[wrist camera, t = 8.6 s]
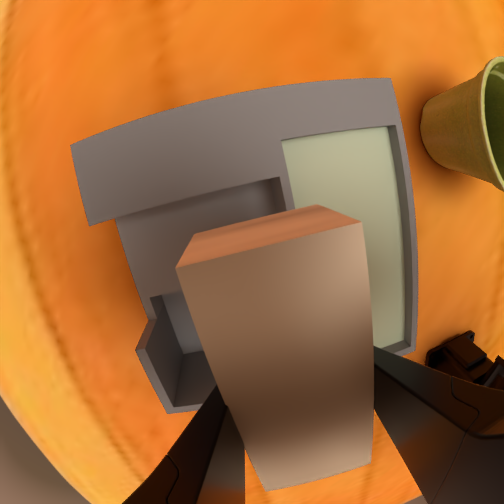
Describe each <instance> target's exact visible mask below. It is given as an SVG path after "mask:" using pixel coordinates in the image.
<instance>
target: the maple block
mask: <svg viewBox="0 0 504 504" xmlns="http://www.w3.org/2000/svg"><path fill="white" fill-rule="evenodd" d="M175 269H176V272H177V275H178V278H179V281H180V285H181V288H182V291H183V294H184V297H185V299H186V302H187V305H188V308H189V311H190V314H191V317H192V320H193V322H194V325H195V328H196V331H197V334H198V336H199V339H200V342H201V344H202V347H203V350H204V352H205V355H206V358H207V360H208V363H209V365H210V368H211V371H212V373H213V376H214V378H215V381H216V383H217V386H218V388H219V390H220V393H221V395H222V398H223V400H224V402H225V405H227V406H228V407H229V410H230V412H231V414H232V417H233V419H234V421H235V424H236V426H237V428H238V431H239V433H240V435H241V438H242V440H243V442H244V448H245V450H246V452H247V454H248V456H249V458H250V461H251V463H252V465H253V467H254V469H255V471H256V473H257V475H258V477H259V479H260V481H261V483H262V485H263V487H264V489H265V491H271V490H276V489H282V488H286V487H291V486H296V485H300V484H304V483H308V482H312V481H316V480H320V479H323V478H327V477H330V476H334V475H337V474H340V473H343V472H347V471H350V470H353V469H356V468H359V467H361V466H364V465H367V464H370V463H371V454H372V439H373V418H374V348H373V325H372V309H371V296H370V285H369V274H368V265H367V256H366V248H365V240H364V233H363V226H362V222H361V221H358V220H356V219H354V218H351V217H349V216H346V215H344V214H341V213H339V212H336V211H334V210H331V209H329V208H326V207H324V206H321V205H318V204H315V205H311V206H307V207H302V208H298V209H294V210H289V211H285V212H281V213H277V214H272V215H268V216H264V217H260V218H256V219H252V220H248V221H244V222H240V223H235V224H231V225H227V226H224V227H220V228H216V229H212V230H208V231H204V232H200V233H196V234H194V235H193V237H192V239H191V241H190V242H189V244H188V246H187V248H186V249H185V251H184V253H183V255H182V257H181V258H180V260H179V262H178V264H177V266H176V267H175Z"/></svg>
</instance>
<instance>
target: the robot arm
mask: <svg viewBox="0 0 504 504" xmlns="http://www.w3.org/2000/svg"><path fill="white" fill-rule="evenodd" d="M474 336H475V333H474V332H473V331H469V332H467V333H465V334H463V335H461V336H459V337H457V338H455V339H453V340H451V341H449V342H447V343H445V344H443V345H441V346H439V347H437V348H434V349H432V350H430V351H429V352H428V354H427V358H426V366H424V365H422V364H419V363H416V362H414V361H411V360H409V359H406V358H404V357H401V356H399V355H396V354H394V353H391V352H389V351H386V350H384V349H381V348H379V347H376V346H374V345H373V348H374V409H375V411H376V413H377V415H378V417H379V418H380V420H381V422H382V424H383V425H384V427H385V429H386V430H387V432H388V434H389V436H390V437H391V439H392V441H393V443H394V444H395V446H396V448H397V450H398V451H399V453H400V455H401V457H402V458H403V460H404V462H405V464H406V465H407V467H408V469H409V471H410V473H411V474H412V476H413V478H414V480H415V482H416V483H417V485H418V487H419V489H420V491H421V492H422V494H423V496H424V498H425V500H426V501H427V503H428V504H504V359H502V358H501V357H500V356H499V355H498V356H497V358H496V359H495V362H494V363H493V362H492V361H491V360H490V359H488V358H487V354H486V353H485V352H484V351H482V350H481V349H480V348H479V347H478V346H476V345H475V344H474V343H473V341H474ZM167 454H168V455H165V457H164V458H163V459H162V461H161V462H160V463H159V465H158V466H157V467H156V468H155V470H154V471H153V472H152V473H151V474H150V476H149V477H148V478H147V479H146V480H145V481H144V482H143V483H142V484H141V485H140V486H139V487H138V488H137V489H136V490H135V491H134V492H133V493H132V494H131V495H130V496H129V497H128V498H127V499H126V500H125V501H124V502H123V503H122V504H245V448H244V442H243V440H242V438H241V435H240V433H239V431H238V428H237V426H236V424H235V421H234V419H233V417H232V414H231V412H230V410H229V407H228V406H227V405H225V402H224V400H223V398H222V395H221V393H220V390H219V388H218V386H217V384H216V386H215V387H214V388H213V390H212V391H211V393H210V394H209V396H208V397H207V399H206V400H205V401H204V403H203V404H202V406H201V407H200V409H199V410H198V411H197V413H196V414H195V416H194V417H193V418H192V420H191V421H190V423H189V424H188V425H187V427H186V428H185V430H184V431H183V432H182V434H181V435H180V436H179V438H178V439H177V441H176V442H175V443H174V445H173V446H172V447H171V449H170V450H169V451H168V453H167Z"/></svg>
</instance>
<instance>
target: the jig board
mask: <svg viewBox="0 0 504 504" xmlns="http://www.w3.org/2000/svg"><path fill="white" fill-rule="evenodd" d="M70 146H71V152H72V157H73V162H74V167H75V171H76V176H77V180H78V185H79V189H80V193H81V197H82V201H83V205H84V209H85V213H86V216H87V220H88V223H89V226H92V225H95V224H98V223H101V222H104V221H108V220H111V219H114V218H115V221H116V225H117V228H118V232H119V235H120V239H121V242H122V245H123V249H124V252H125V255H126V258H127V261H128V264H129V267H130V270H131V273H132V276H133V279H134V282H135V285H136V288H137V291H138V293H139V296H140V299H141V302H142V304H143V307H144V310H145V312H146V315H147V317H148V320H149V321H148V323H147V325H146V327H145V329H144V331H143V334H142V336H141V338H140V340H139V342H138V345H137V347H136V349H135V351H136V353H137V355H138V357H139V360H140V362H141V364H142V366H143V368H144V370H145V372H146V374H147V376H148V378H149V380H150V382H151V384H152V386H153V388H154V390H155V392H156V394H157V396H158V397H159V399H160V401H161V403H162V405H163V407H164V409H165V410H166V412H167V414H172V413H180V412H188V411H196V410H199V409H200V407H201V406H202V404H203V403H204V401H205V400H206V399H207V397H208V396H209V394H210V393H211V391H212V390H213V388H214V387H215V386H216V384H217V383H216V381H215V378H214V376H213V373H212V371H211V368H210V365H209V363H208V360H207V358H206V355H205V352H204V350H203V347H202V344H201V342H200V339H199V336H198V334H197V331H196V328H195V325H194V322H193V320H192V317H191V314H190V311H189V308H188V305H187V302H186V299H185V297H184V294H183V291H182V288H181V285H180V281H179V278H178V275H177V272H176V269H175V267H176V266H177V264H178V262H179V260H180V258H181V257H182V255H183V253H184V251H185V249H186V248H187V246H188V244H189V242H190V241H191V239H192V237H193V235H194V234H196V233H200V232H204V231H208V230H212V229H216V228H220V227H224V226H227V225H231V224H235V223H240V222H244V221H248V220H252V219H256V218H260V217H264V216H268V215H272V214H277V213H281V212H285V211H289V210H294V209H298V208H302V207H307V206H311V205H315V204H318V205H321V206H324V207H326V208H329V209H331V210H334V211H336V212H339V213H341V214H344V215H346V216H349V217H351V218H354V219H356V220H358V221H361V222H362V226H363V233H364V240H365V248H366V256H367V265H368V274H369V285H370V296H371V309H372V325H373V345H374V346H376V347H379V348H381V349H384V350H386V351H389V352H391V353H394V354H396V355H399V356H403V355H406V354H408V353H411V352H413V351H415V349H416V336H417V317H418V251H417V233H416V219H415V208H414V198H413V189H412V181H411V174H410V167H409V161H408V154H407V148H406V143H405V137H404V132H403V127H402V122H401V118H400V113H399V109H398V105H397V100H396V96H395V92H394V89H393V85H392V81H391V78H363V79H343V80H329V81H317V82H308V83H299V84H291V85H283V86H276V87H270V88H263V89H257V90H252V91H246V92H241V93H236V94H231V95H226V96H221V97H217V98H212V99H208V100H204V101H200V102H196V103H192V104H188V105H184V106H180V107H177V108H173V109H170V110H166V111H163V112H159V113H156V114H153V115H150V116H146V117H143V118H140V119H137V120H134V121H131V122H128V123H126V124H123V125H120V126H117V127H114V128H112V129H109V130H106V131H104V132H101V133H98V134H96V135H93V136H91V137H88V138H86V139H84V140H81V141H79V142H76V143H74V144H72V145H70Z"/></svg>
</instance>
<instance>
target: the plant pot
mask: <svg viewBox="0 0 504 504" xmlns="http://www.w3.org/2000/svg"><path fill="white" fill-rule="evenodd" d="M420 131H421V137H422V140H423V143H424V146H425V148H426V150H427V152H428V153H429V155H430V156H431V158H432V159H433V160H434V161H435V162H437V163H438V164H440V165H441V166H443V167H445V168H448V169H451V170H454V171H458V172H461V173H464V174H467V175H470V176H473V177H476V178H479V179H481V180H484V181H487V182H490V183H492V184H493V185H494V186H495V187H496V188H498V189H500V190H502V191H503V192H504V57H503V56H501V57H496V58H493V59H491V60H490V61H489V62H488V63H487V64H486V66H485V67H484V69H483V70H482V71H481V72H479V73H478V74H477V76H476V77H474V78H472V79H470V80H468V81H466V82H464V83H462V84H460V85H458V86H455V87H453V88H451V89H449V90H447V91H445V92H443V93H441V94H439V95H437V96H435V97H433V98H431V99H430V100H428V101H427V103H426V104H425V105H424V107H423V114H422V120H421V124H420Z"/></svg>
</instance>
